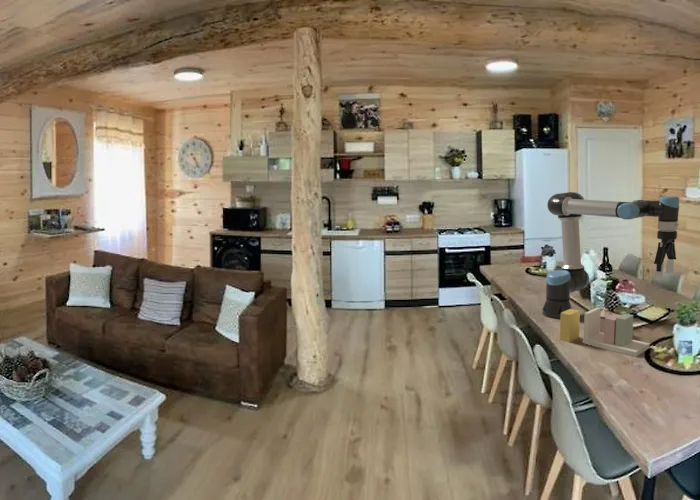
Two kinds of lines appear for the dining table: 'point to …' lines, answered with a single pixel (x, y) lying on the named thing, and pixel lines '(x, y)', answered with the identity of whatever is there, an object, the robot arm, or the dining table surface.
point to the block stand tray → (612, 333)
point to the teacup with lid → (603, 315)
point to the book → (569, 325)
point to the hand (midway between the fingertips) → (664, 275)
